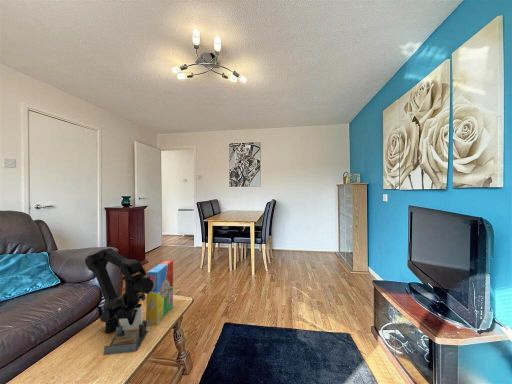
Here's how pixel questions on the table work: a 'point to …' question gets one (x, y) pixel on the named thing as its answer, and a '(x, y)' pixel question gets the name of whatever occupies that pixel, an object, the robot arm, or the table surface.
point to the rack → (127, 347)
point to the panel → (136, 323)
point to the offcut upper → (124, 340)
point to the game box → (160, 293)
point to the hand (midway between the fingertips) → (131, 323)
